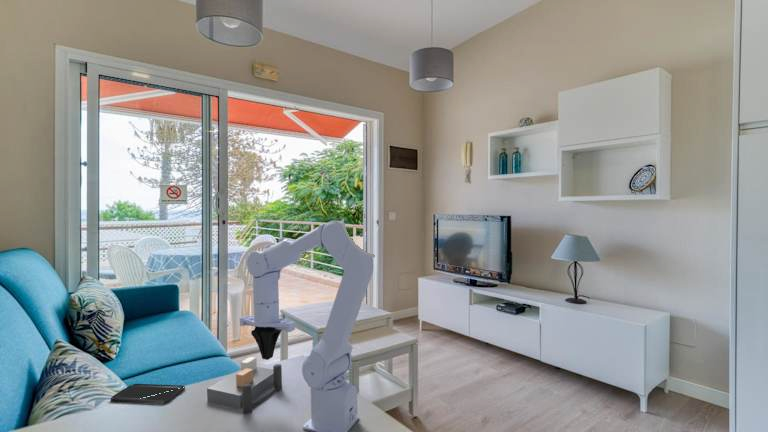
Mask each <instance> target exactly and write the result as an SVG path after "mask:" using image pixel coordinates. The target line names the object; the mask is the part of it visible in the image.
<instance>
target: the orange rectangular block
mask: <svg viewBox="0 0 768 432" xmlns="http://www.w3.org/2000/svg"><path fill="white" fill-rule="evenodd" d="M252 381H253V369H249V368H246V369H244V370H242V371H241V372H239V373H237V374H236V386H239V387H242V385H244V384H247V383H251V382H252Z"/></svg>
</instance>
